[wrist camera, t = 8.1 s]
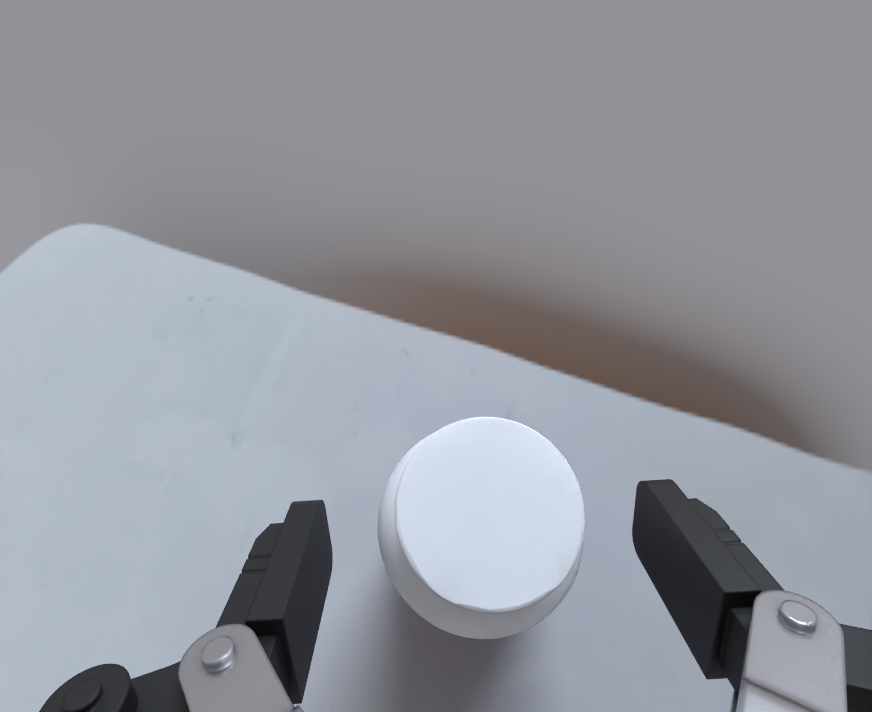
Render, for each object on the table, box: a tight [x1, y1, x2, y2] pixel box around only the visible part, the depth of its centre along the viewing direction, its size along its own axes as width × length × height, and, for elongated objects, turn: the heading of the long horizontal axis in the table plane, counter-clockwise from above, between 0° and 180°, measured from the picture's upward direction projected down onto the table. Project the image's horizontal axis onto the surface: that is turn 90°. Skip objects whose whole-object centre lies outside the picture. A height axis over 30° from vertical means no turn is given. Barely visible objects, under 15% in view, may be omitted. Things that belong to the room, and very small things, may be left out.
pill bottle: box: [378, 417, 585, 639], centre depth 15 cm, size 5×5×10 cm
